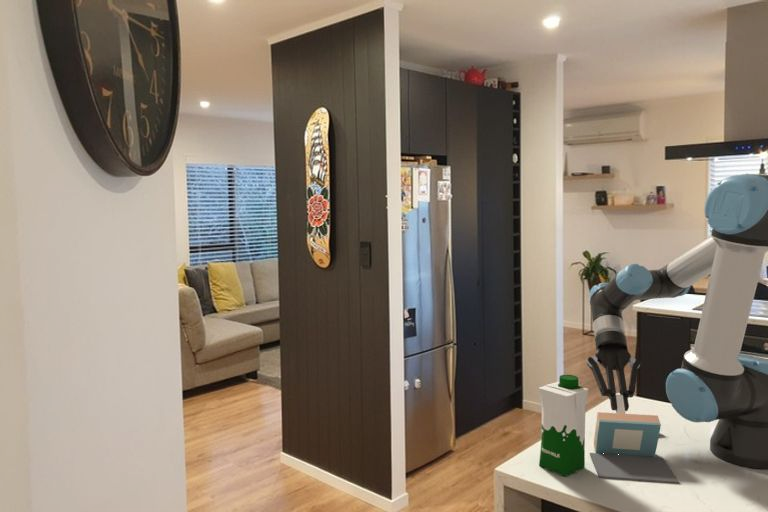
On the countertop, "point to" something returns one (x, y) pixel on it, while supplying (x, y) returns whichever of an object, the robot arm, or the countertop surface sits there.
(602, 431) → the terracotta tile
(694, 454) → the countertop surface
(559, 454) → the milk carton
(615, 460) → the rubber mat
